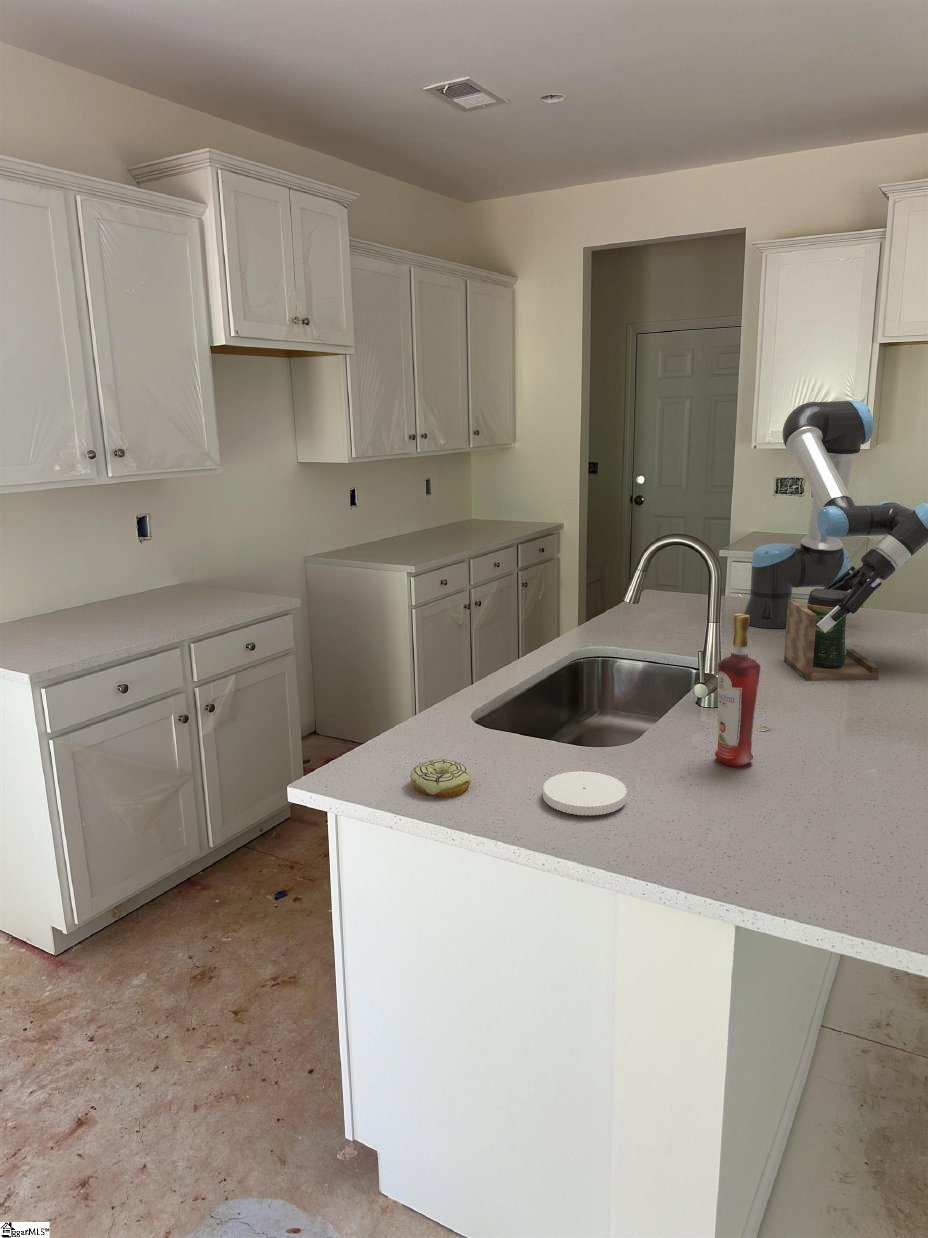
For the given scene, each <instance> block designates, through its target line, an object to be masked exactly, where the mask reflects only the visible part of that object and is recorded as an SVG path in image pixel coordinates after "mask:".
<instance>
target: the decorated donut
mask: <svg viewBox="0 0 928 1238" xmlns="http://www.w3.org/2000/svg"><path fill="white" fill-rule="evenodd" d="M409 776H410V782H411V784H412V785H413V788H414V789H415V790H416V791H417V792H418V791H419V792H418V793H420V794H423V795H426V796H430V795H431V797H434V796H437V797H436V798H438V797H442V798H451V796H452V797H458V796H461V795H462V794H463V793H465V792H466V791H467V790H468V789H469V787H470V784H471V782H472V774H471V771H470V769H469V768H468V767H467V765H465V764H464V763H461V762H458V761H456V760H450V759H445V758H444V759H443V758H442V759H441V758H439V759H438V758H437V759H430V760H426V761H424V762H421V763H419V764H417V765H415V766H413V767H412V769H411V770H410V775H409Z"/></svg>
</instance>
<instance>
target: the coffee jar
mask: <svg viewBox="0 0 928 1238" xmlns="http://www.w3.org/2000/svg"><path fill="white" fill-rule="evenodd" d="M849 592H850V591H840V590H833V589H823V588H819V587H815V588H813V589H811V590H810V592H809V595H808V600H807V603H806V608H808V609H809V610H810V611H812V612H813V613H815V614H816V615H817V618H816V624H818V623H819V622H820V621H821V620H822V619H823V618H824V617H825V616H826V615H828V614H829V613H830V612H831V611H832V610H833V609H834V608H835V607H836V606H839V605H838V603H843V601H844V600H845V598H846V597H847V595H848V594H849ZM839 607H840V606H839ZM840 608H841V607H840ZM847 615H848V614H847V613H846V615H845V616H844V617H842V618H841V619H840V620H839V621H838V622H837V623H836V624H835V625H833V626H832V627H831V628H830V629H829V630H828V631H827V632H826V633H824V632H823V631H822V630H821V629H820V628H819V627H818V626H817V625H816V631H815V644H814V657H813V665H817V666H823V667H838V666H842V665H843V664H844V662H845V655H846V622H847Z"/></svg>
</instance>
